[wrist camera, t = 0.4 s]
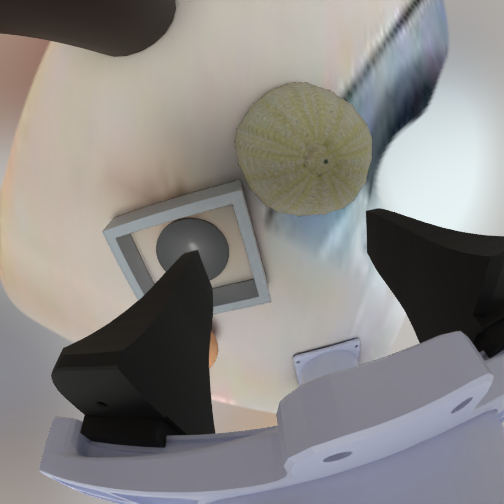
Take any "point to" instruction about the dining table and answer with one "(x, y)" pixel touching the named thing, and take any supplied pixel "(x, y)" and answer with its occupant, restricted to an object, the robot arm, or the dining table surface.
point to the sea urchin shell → (304, 150)
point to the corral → (191, 244)
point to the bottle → (90, 22)
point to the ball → (213, 350)
